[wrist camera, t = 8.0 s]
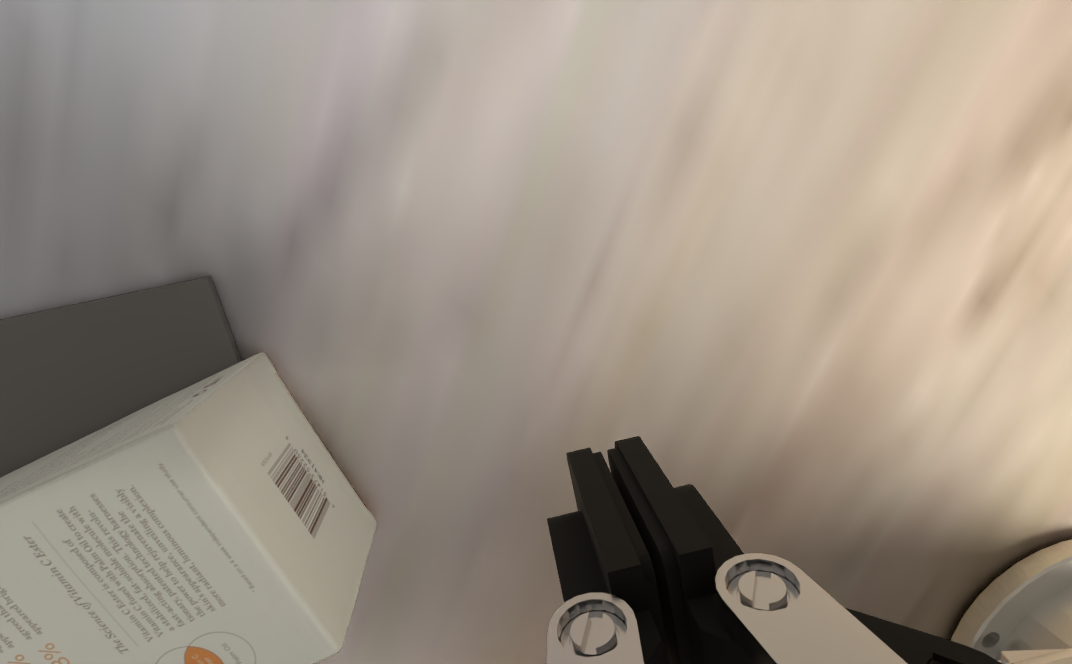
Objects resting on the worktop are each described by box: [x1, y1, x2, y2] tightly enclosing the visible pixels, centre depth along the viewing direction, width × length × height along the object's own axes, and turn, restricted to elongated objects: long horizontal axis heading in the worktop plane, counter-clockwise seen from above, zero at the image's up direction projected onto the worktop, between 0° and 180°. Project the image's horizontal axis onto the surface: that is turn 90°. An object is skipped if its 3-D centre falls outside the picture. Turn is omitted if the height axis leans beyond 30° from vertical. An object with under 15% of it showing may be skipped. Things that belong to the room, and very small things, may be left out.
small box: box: [0, 352, 377, 664], centre depth 17 cm, size 8×6×13 cm
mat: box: [0, 276, 242, 478], centre depth 19 cm, size 12×14×1 cm
